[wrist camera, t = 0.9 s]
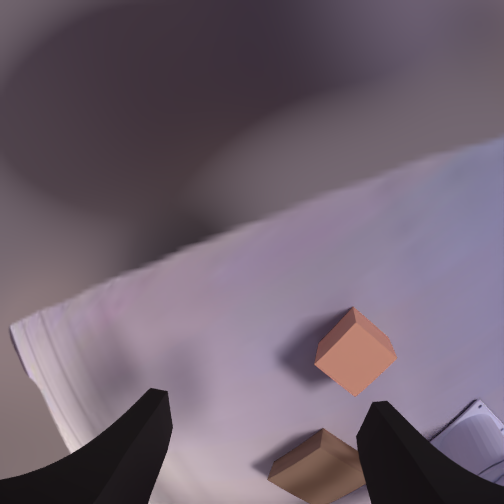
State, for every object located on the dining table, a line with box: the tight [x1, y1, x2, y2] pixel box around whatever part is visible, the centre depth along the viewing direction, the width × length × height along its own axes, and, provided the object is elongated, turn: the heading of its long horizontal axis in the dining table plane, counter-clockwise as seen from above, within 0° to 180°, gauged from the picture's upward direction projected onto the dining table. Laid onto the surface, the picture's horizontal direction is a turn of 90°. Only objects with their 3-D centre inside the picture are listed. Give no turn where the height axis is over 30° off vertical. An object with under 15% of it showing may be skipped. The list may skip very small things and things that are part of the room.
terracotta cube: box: [314, 307, 397, 397], centre depth 22 cm, size 4×4×4 cm
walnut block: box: [267, 428, 366, 504], centre depth 24 cm, size 8×8×4 cm
